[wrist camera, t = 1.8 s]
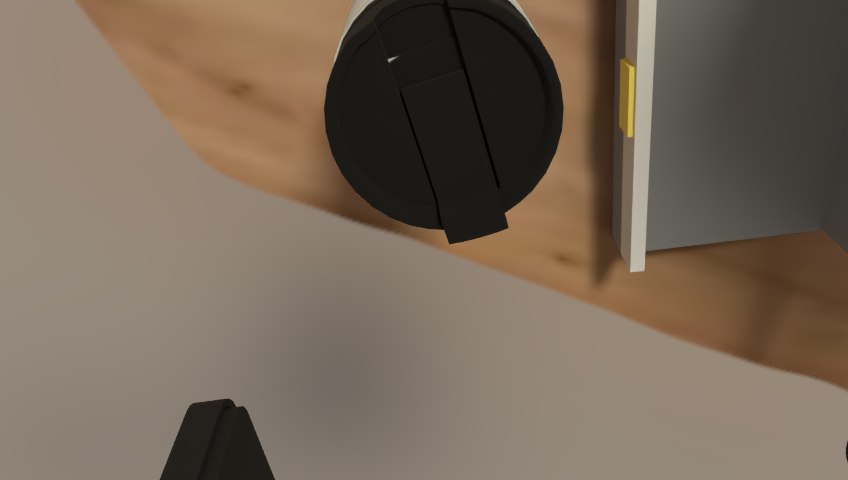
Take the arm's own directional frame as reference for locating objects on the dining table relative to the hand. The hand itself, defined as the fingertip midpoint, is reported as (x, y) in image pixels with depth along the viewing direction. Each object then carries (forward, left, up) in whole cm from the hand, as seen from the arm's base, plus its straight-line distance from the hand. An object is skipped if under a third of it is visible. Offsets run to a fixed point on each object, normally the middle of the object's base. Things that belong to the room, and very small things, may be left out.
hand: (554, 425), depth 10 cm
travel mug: (-2, -1, -29) cm, 29 cm away
